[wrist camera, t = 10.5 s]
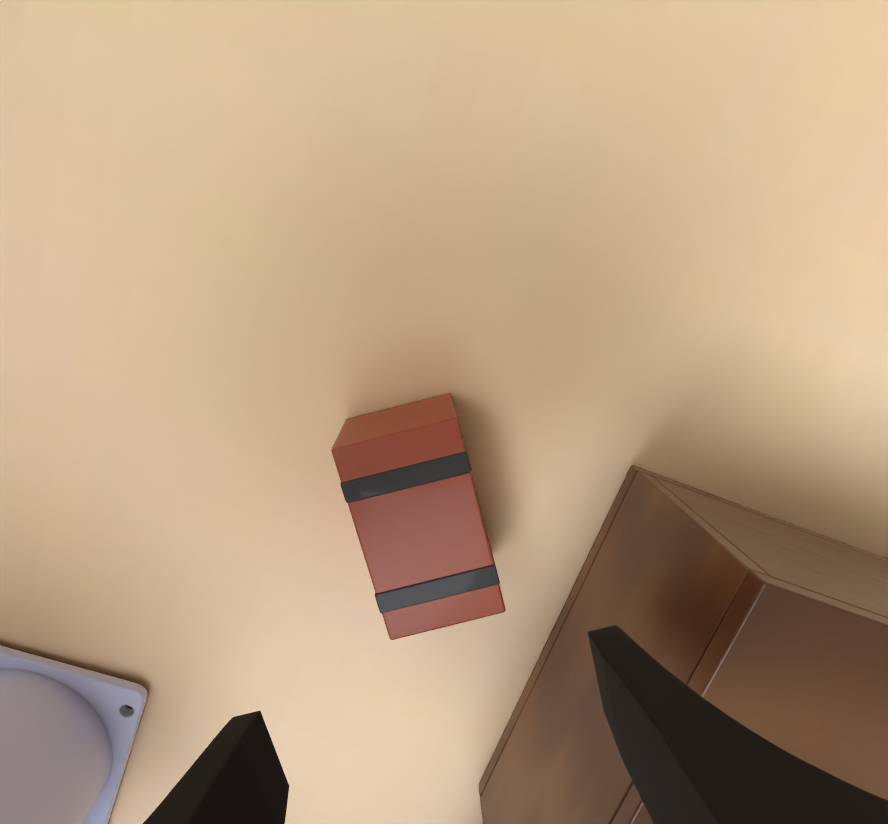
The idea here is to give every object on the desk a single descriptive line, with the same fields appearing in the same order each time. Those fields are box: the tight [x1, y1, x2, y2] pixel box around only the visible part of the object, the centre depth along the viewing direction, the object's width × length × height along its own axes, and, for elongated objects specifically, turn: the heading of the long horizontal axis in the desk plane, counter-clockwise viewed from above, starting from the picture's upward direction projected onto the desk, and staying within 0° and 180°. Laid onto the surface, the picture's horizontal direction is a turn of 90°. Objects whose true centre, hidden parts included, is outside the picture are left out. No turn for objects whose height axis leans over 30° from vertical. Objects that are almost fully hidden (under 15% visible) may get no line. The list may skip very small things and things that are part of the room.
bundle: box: [332, 393, 505, 640], centre depth 19 cm, size 7×4×4 cm, turn 14°
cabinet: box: [479, 466, 888, 824], centre depth 19 cm, size 15×12×8 cm
